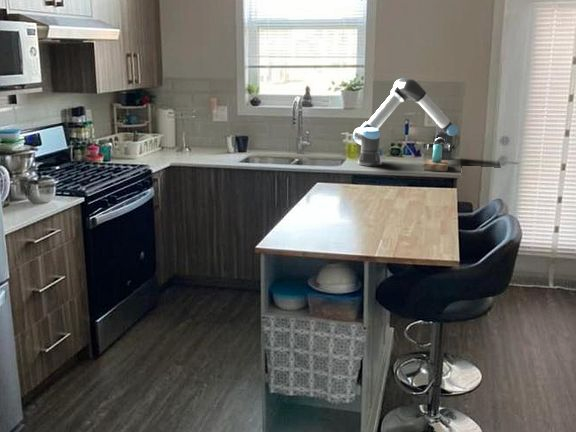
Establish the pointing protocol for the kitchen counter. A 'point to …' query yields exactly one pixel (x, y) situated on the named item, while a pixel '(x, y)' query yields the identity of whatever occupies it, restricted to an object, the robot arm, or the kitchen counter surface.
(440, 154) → the teal jar
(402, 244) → the kitchen counter surface
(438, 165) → the walnut base
